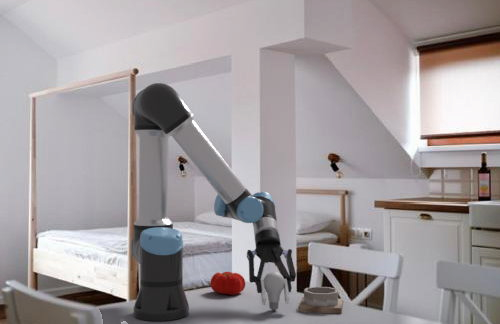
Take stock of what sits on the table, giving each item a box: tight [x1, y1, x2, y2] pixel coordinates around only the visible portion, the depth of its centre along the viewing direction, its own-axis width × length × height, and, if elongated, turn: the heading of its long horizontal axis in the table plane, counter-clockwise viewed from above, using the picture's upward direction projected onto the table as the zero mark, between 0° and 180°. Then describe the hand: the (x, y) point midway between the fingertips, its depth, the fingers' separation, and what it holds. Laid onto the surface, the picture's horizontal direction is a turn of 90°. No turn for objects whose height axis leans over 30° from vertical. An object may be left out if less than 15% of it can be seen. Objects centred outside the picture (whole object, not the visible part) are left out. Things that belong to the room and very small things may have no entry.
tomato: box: [209, 271, 246, 296], centre depth 196 cm, size 10×11×7 cm
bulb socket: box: [297, 286, 344, 314], centre depth 176 cm, size 12×12×5 cm
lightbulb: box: [263, 271, 285, 311], centre depth 173 cm, size 6×6×11 cm
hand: (276, 301), depth 169 cm, fingers closed on lightbulb, 6 cm apart
